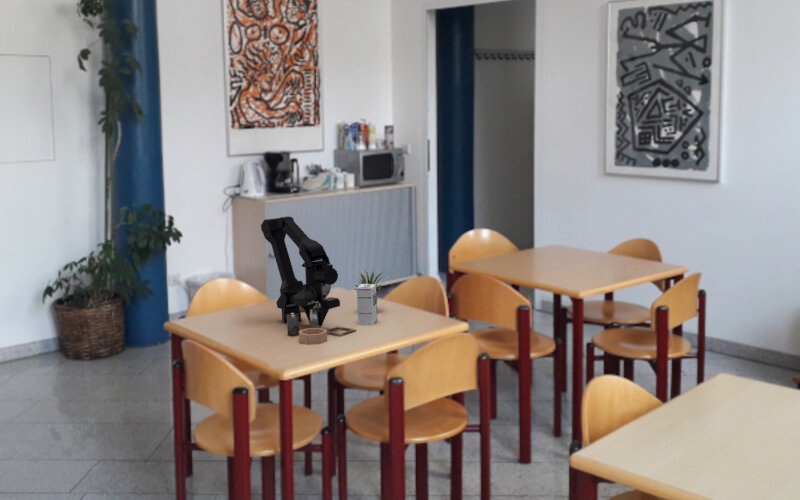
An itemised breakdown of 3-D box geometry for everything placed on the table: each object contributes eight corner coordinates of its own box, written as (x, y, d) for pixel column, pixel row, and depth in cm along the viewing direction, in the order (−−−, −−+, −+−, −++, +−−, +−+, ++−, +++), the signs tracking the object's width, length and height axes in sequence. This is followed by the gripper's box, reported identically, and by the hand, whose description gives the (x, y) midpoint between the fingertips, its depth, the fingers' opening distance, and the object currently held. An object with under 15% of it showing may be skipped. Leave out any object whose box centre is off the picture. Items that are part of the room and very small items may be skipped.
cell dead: (285, 335, 304) (284, 313, 303) (293, 332, 308) (292, 311, 306) (293, 337, 302) (292, 314, 301) (302, 334, 305) (301, 312, 304)
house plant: (398, 309, 342) (397, 267, 340) (378, 317, 331) (376, 273, 328) (367, 306, 350) (366, 264, 347) (346, 313, 338) (344, 270, 336)
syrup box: (374, 327, 316) (372, 287, 314) (357, 327, 318) (356, 286, 315) (377, 323, 322) (376, 283, 320) (361, 323, 323) (360, 283, 321)
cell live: (307, 328, 313) (306, 307, 312) (315, 326, 316) (314, 304, 315) (316, 330, 311) (315, 308, 309) (324, 327, 314) (323, 306, 312)
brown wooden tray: (323, 336, 306) (322, 331, 306) (338, 331, 312) (338, 326, 312) (340, 339, 301) (340, 334, 301) (356, 334, 307) (356, 329, 307)
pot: (293, 344, 297) (293, 332, 296) (312, 338, 304) (312, 326, 303) (313, 348, 291) (313, 336, 290) (332, 342, 298) (332, 330, 297)
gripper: (278, 282, 310) (280, 326, 313) (317, 287, 299) (319, 333, 301) (300, 276, 319) (302, 319, 321) (340, 282, 307) (341, 326, 310)
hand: (315, 324), depth 313 cm, fingers closed on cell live, 4 cm apart
